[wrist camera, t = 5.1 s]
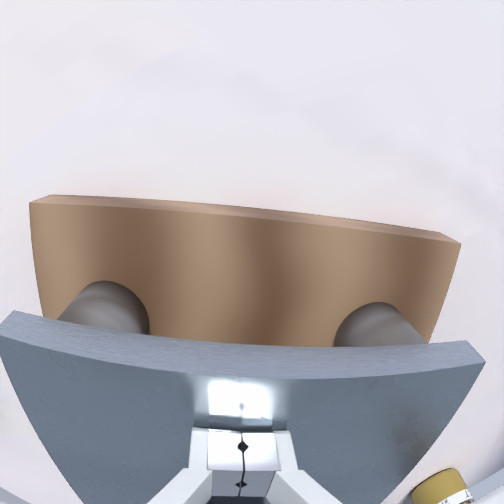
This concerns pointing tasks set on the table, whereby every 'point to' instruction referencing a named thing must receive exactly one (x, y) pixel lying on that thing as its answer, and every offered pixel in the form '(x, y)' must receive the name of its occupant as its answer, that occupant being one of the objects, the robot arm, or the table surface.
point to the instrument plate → (228, 405)
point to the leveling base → (237, 273)
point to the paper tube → (443, 489)
